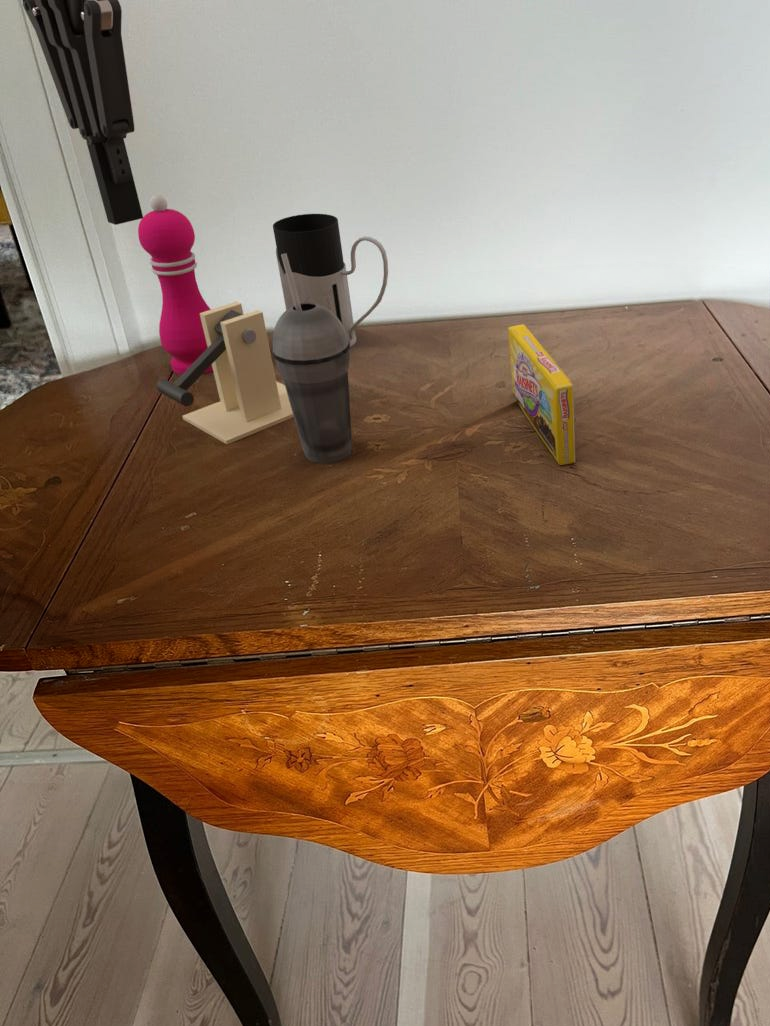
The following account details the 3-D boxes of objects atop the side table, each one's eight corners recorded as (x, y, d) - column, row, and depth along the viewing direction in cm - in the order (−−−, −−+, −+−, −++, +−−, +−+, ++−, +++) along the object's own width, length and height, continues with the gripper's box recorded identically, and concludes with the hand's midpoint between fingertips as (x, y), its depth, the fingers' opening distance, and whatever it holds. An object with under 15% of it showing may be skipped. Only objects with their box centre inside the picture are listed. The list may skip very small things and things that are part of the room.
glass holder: (310, 333, 123) (290, 210, 114) (411, 342, 119) (398, 215, 110) (277, 359, 117) (252, 231, 108) (382, 369, 113) (366, 237, 103)
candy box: (510, 399, 104) (507, 325, 99) (528, 396, 105) (527, 322, 100) (555, 467, 92) (555, 386, 87) (576, 463, 92) (577, 382, 87)
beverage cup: (346, 481, 92) (312, 270, 79) (280, 472, 94) (237, 265, 82) (377, 447, 97) (351, 244, 85) (315, 439, 99) (280, 240, 87)
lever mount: (228, 452, 98) (201, 340, 91) (184, 426, 103) (156, 319, 96) (322, 413, 104) (304, 305, 97) (276, 391, 110) (256, 287, 102)
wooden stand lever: (189, 412, 95) (175, 396, 93) (165, 398, 98) (150, 382, 96) (263, 334, 97) (250, 317, 95) (237, 323, 100) (224, 306, 98)
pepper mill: (239, 372, 114) (200, 194, 102) (182, 389, 111) (134, 207, 99) (216, 354, 119) (176, 182, 107) (161, 370, 116) (113, 195, 104)
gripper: (-44, -109, 73) (55, 217, 87) (25, -116, 65) (120, 242, 80) (50, -113, 77) (130, 200, 91) (125, -120, 69) (199, 222, 84)
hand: (125, 219), depth 86 cm, fingers closed
